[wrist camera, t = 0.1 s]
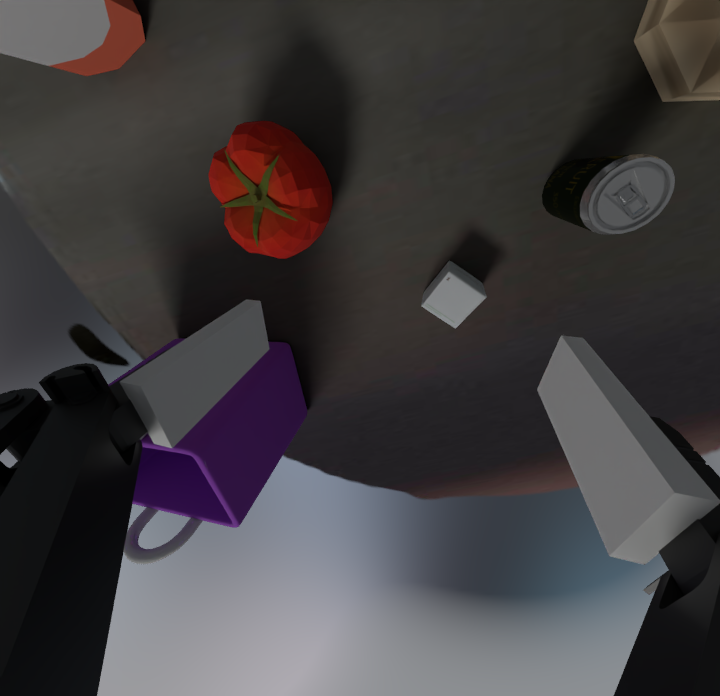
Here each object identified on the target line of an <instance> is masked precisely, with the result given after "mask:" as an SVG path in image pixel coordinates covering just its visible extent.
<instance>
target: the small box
mask: <svg viewBox="0 0 720 696" xmlns="http://www.w3.org/2000/svg"><path fill="white" fill-rule="evenodd" d="M486 297H487V296H486V293H485V290H484V287H483V284H482V282H480V281H479V280H478V279H476V278H475V277H473V276H472V275H470V274H469V273H468V272H466V271H465V270H463V269H462V268H460V267H459V266H457V265H456V264H454V263H453V262H451V261H448V263H447V264H446V265H445V266H444V268H443V269H442V270H441V271H440V273H439V274H438V275H437V276H436V278H435V279H434V280H433V281H432V283H431V284H430V285H429V286H428V288H427V289H426V290H425V291H424V293H423V299H422V307H424V308H425V309H426V310H428V311H429V312H431V313H432V314H434V315H435V316H437V317H438V318H440V319H441V320H443V321H445V322H446V323H448V324H449V325H451V326H452V327H454V328H457V326H458V325H459V324H460V323H461V322H462V321H463V320H464V319H465V318H466V317H467V316H468V315H469V314H470V313H471V312H472V311H473V310H474V309H475V308H476V307H477V306H478V305H479V304H480V303H481V302H482V301H483V300H484V299H485V298H486Z"/></svg>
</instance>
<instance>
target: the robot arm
mask: <svg viewBox="0 0 720 696" xmlns="http://www.w3.org/2000/svg"><path fill="white" fill-rule="evenodd" d="M268 350H269V343H268V338H267V333H266V327H265V322H264V317H263V311H262V306H261V301H256V300H248V299H246V300H245V301H243V302H242V303H240V304H239V305H237V306H236V307H234V308H232V309H231V310H229V311H228V312H226V313H225V314H223V315H222V316H220V317H219V318H217V319H216V320H214V321H212V322H211V323H209V324H208V325H206V326H205V327H203V328H202V329H200V330H199V331H197V332H196V333H194V334H192V335H191V336H189V337H188V338H186V339H185V340H183V341H182V342H180V343H179V344H177V345H175V346H174V347H171V348H169V349H167V350H165V351H163V352H162V353H160V354H159V355H157V356H156V357H155V359H154V358H152V359H151V360H149V361H148V362H146V364H145V365H144V364H143V365H142V366H140V367H138V368H137V369H135V370H134V371H132V372H131V373H129V374H128V375H126V376H124V377H123V378H121V379H120V380H118V381H117V382H115V383H114V384H112V385H110V386H108V384H107V382H106V381H105V379H104V377H103V376H102V374H101V372H100V370H99V369H98V367H97V366H96V365H94V364H87V363H85V364H77V365H73V366H69V367H65V368H62V369H60V370H57V371H55V372H53V373H51V374H49V375H48V376H46V377H44V378H43V379H42V380H41V381H40V382H39V383H40V385H41V386H42V387H43V389H44V390H45V391H46V393H47V394H48V395H49V397H50V398H51V399H52V400H51V401H45V400H44V399H43V398H42V396H41V395H40V393H39V392H38V391H37V390H35V389H20V390H13V391H9V392H7V393H3V394H0V454H1V453H2V452H3V451H4V450H5V449H7V450H8V451H9V452H10V453H11V454H12V455H13V456H14V457H15V458H16V459H17V460H18V462H16V464H15V465H14V466H12V467H11V468H8V467H6V466H5V465H4V464H3V463H2V462H1V461H0V696H97V692H98V687H99V682H100V676H101V671H102V665H103V659H104V654H105V649H106V644H107V638H108V633H109V627H110V622H111V616H112V611H113V606H114V600H115V594H116V589H117V584H118V578H119V573H120V568H121V562H122V556H123V551H124V546H125V540H126V535H127V529H128V523H129V518H130V513H131V508H132V502H133V497H134V491H135V486H136V481H137V475H138V470H139V464H140V459H141V453H142V448H143V446H142V442H141V440H140V438H141V437H142V436H143V435H144V434H145V433H147V432H148V434H149V436H150V438H151V439H152V441H153V443H154V444H157V445H161V446H165V447H169V448H173V447H174V446H175V445H176V444H177V443H178V442H179V441H180V440H181V439H182V438H183V437H184V436H185V435H186V434H187V433H188V432H189V431H190V430H191V429H192V428H193V427H194V426H195V425H196V424H197V423H198V422H199V421H200V420H201V419H202V418H203V417H204V416H205V415H206V414H207V412H208V411H209V410H210V409H211V408H212V407H213V406H214V405H215V404H216V403H217V402H218V401H219V400H220V399H221V398H222V397H223V396H224V395H225V394H226V393H227V392H228V391H229V390H230V389H231V388H232V387H233V386H234V385H235V384H236V383H237V382H238V381H239V380H240V379H241V378H242V377H243V376H244V375H245V374H246V373H247V372H248V371H249V370H250V369H251V368H252V366H253V365H254V364H255V363H256V362H257V361H258V360H259V359H260V358H261V357H262V356H263V355H264V354H265V353H266V352H267V351H268ZM537 390H538V392H539V395H540V397H541V399H542V402H543V404H544V406H545V409H546V411H547V413H548V416H549V418H550V420H551V423H552V425H553V427H554V429H555V432H556V434H557V436H558V439H559V441H560V443H561V446H562V448H563V450H564V453H565V455H566V457H567V459H568V462H569V464H570V466H571V469H572V471H573V473H574V476H575V478H576V480H577V483H578V485H579V487H580V489H581V492H582V494H583V496H584V499H585V501H586V503H587V505H588V508H589V510H590V512H591V515H592V517H593V519H594V522H595V524H596V526H597V529H598V531H599V533H600V536H601V538H602V540H603V542H604V545H605V547H606V550H607V552H608V554H609V556H612V557H615V558H619V559H623V560H627V561H632V562H636V563H640V564H644V565H645V564H646V563H648V562H649V561H650V560H651V559H652V558H654V557H655V556H656V555H657V554H658V553H660V555H661V556H662V558H663V560H664V562H665V563H666V565H667V567H668V569H669V571H667V572H666V573H665V574H663V575H662V576H660V577H659V578H658V579H656V580H655V581H654V582H652V583H651V584H650V585H648V586H647V587H646V588H645V589H644V591H645V592H646V593H648V594H649V595H650V594H651V593H652V592H654V591H655V590H656V591H655V594H654V596H653V598H652V601H651V603H650V606H649V608H648V611H647V613H646V616H645V618H644V621H643V624H642V626H641V629H640V631H639V634H638V636H637V639H636V641H635V644H634V646H633V649H632V651H631V654H630V656H629V659H628V661H627V664H626V666H625V669H624V671H623V674H622V677H621V679H620V681H619V684H618V687H617V689H616V692H615V694H614V696H720V477H719V476H718V475H717V474H716V473H715V472H714V470H713V469H712V468H711V467H710V466H709V465H706V464H705V462H706V461H705V460H704V459H703V458H702V457H701V456H700V455H699V454H698V453H697V452H696V451H693V449H694V448H693V447H692V446H691V445H690V444H689V443H688V442H687V441H686V439H685V438H684V437H683V436H682V435H681V434H680V433H679V432H678V431H676V430H675V429H674V428H672V427H671V426H669V425H668V424H667V423H665V422H664V421H662V420H661V419H660V418H655V417H649V416H648V414H647V413H646V412H645V411H644V410H643V409H642V407H641V406H640V405H639V404H638V403H637V401H636V400H635V399H634V398H633V397H632V395H631V394H630V393H629V392H628V391H627V390H626V388H625V387H624V386H623V385H622V384H621V382H620V381H619V380H618V379H617V378H616V377H615V375H614V374H613V373H612V372H611V371H610V369H609V368H608V367H607V366H606V365H605V363H604V362H603V361H602V360H601V359H600V358H599V356H598V355H597V354H596V353H595V352H594V350H593V349H592V348H591V347H590V346H589V344H588V343H587V342H586V341H585V340H584V339H583V338H579V337H570V336H561V337H560V339H559V341H558V344H557V346H556V348H555V350H554V353H553V355H552V357H551V360H550V362H549V364H548V366H547V369H546V371H545V373H544V375H543V378H542V380H541V382H540V384H539V387H538V389H537Z"/></svg>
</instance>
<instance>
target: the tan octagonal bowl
mask: <svg viewBox="0 0 720 696" xmlns="http://www.w3.org/2000/svg"><path fill="white" fill-rule="evenodd" d="M634 43H635V45H636V47H637V49H638V51H639V54H640V56H641V58H642V60H643V62H644V64H645V66H646V68H647V70H648V72H649V74H650V76H651V78H652V80H653V82H654V85H655V87H656V89H657V91H658V93H659V95H660V97H661V99H662V101H663V102H674V101H703V100H720V0H648V3H647V6H646V8H645V11H644V14H643V17H642V19H641V22H640V25H639V28H638V30H637V33H636V36H635V39H634Z"/></svg>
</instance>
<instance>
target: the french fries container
mask: <svg viewBox="0 0 720 696" xmlns="http://www.w3.org/2000/svg"><path fill="white" fill-rule="evenodd" d="M144 42H145V36H144V31H143V26H142V20H141V16H140V14H139V12H138V10H137V8H136V6H135V4H134V2H133V0H0V53H2V54H6V55H10V56H13V57H17V58H21V59H25V60H28V61H32V62H36V63H39V64H43V65H47V66H51V67H54V68H58V69H62V70H66V71H69V72H73V73H77V74H80V75H84V76H89V75H94V74H98V73H103V72H107V71H112V70H116V69H119V68H120V67H121V66H122V65H123V64H124V63H125V62H126V61H127V60H128V59H129V58H130V57H131V56H132V55H133V54H134V53H135V52H136V50H137V49H138V48H139V47H140V46H141V45H142V44H143V43H144Z"/></svg>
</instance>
